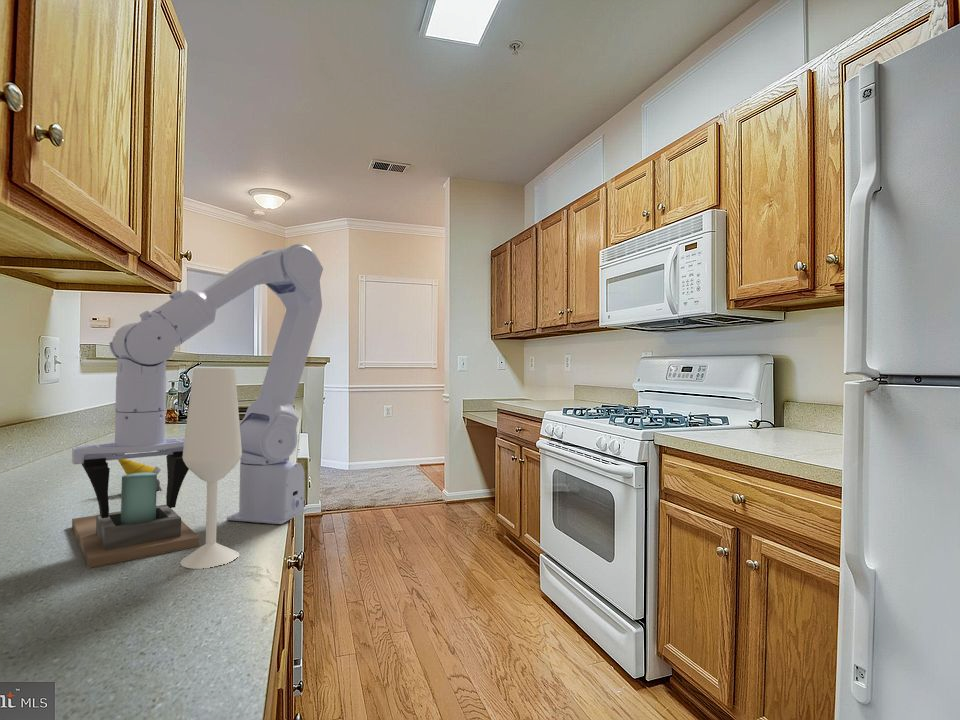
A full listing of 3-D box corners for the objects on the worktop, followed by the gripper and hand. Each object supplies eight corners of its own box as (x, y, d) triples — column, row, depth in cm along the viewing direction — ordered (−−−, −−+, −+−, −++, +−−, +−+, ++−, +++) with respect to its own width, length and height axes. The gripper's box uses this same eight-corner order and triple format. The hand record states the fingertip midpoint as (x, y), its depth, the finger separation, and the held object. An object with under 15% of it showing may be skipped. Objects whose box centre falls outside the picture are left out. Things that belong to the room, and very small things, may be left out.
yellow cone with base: (157, 497, 96) (110, 463, 93) (146, 505, 99) (99, 471, 96) (177, 475, 101) (132, 441, 97) (166, 483, 104) (122, 450, 100)
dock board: (199, 546, 71) (199, 518, 71) (88, 568, 63) (89, 537, 63) (164, 512, 86) (165, 489, 86) (72, 526, 78) (72, 501, 78)
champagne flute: (172, 570, 63) (176, 368, 63) (189, 550, 69) (193, 367, 69) (233, 566, 64) (237, 369, 64) (244, 547, 71) (248, 368, 71)
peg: (162, 531, 73) (163, 473, 73) (139, 540, 69) (140, 479, 69) (137, 529, 74) (138, 471, 74) (112, 538, 70) (114, 477, 70)
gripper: (192, 406, 79) (190, 496, 79) (70, 410, 70) (68, 513, 69) (205, 410, 74) (203, 506, 74) (76, 415, 64) (73, 526, 64)
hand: (138, 511), depth 71 cm, fingers open, 7 cm apart
